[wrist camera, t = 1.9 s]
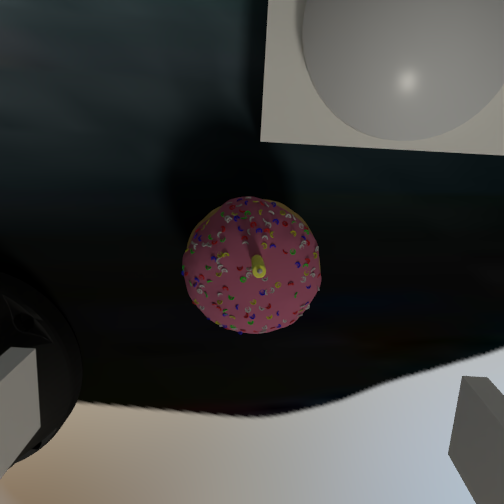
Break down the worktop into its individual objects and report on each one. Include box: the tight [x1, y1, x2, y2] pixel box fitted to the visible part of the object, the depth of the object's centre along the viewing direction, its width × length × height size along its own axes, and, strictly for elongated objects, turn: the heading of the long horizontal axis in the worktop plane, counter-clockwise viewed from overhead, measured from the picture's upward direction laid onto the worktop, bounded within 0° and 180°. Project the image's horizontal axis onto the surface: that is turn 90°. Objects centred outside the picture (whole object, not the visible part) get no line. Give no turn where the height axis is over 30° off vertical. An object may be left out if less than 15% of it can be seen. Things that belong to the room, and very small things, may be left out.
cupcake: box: [182, 196, 321, 335], centre depth 27 cm, size 9×8×12 cm
